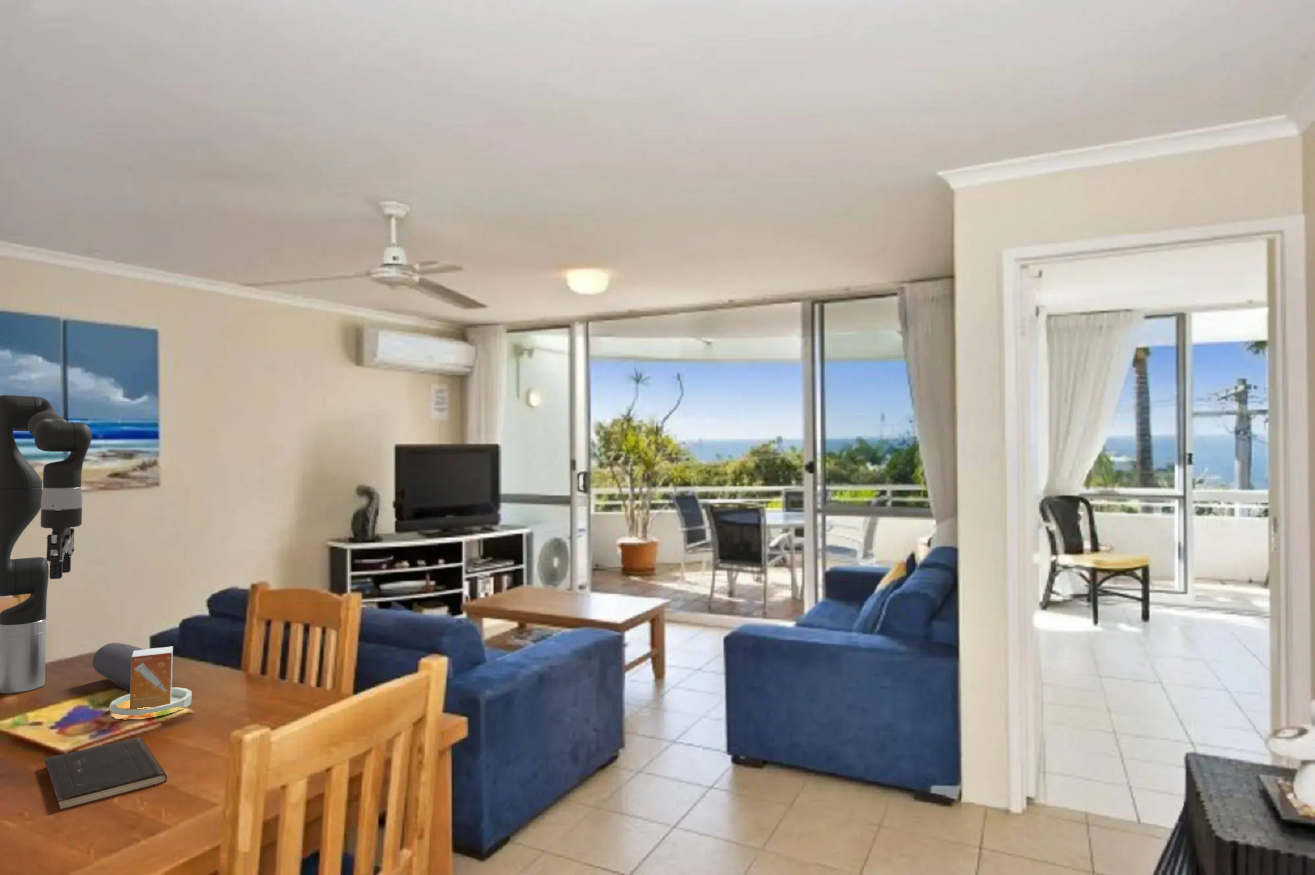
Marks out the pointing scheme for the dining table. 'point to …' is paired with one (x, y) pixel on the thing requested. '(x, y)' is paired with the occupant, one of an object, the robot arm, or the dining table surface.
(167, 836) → the dining table surface
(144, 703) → the small box
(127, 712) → the round tray
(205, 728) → the dining table surface
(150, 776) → the hardcover book
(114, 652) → the bluetooth speaker
